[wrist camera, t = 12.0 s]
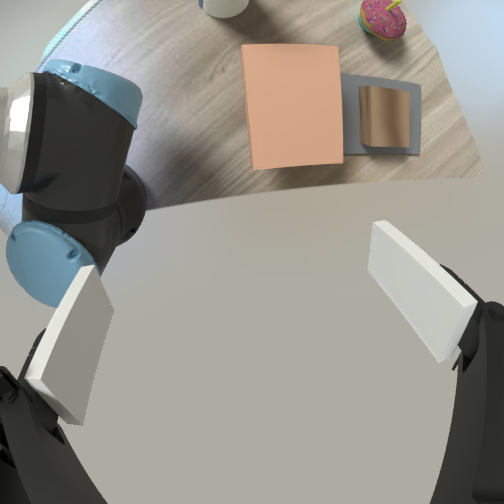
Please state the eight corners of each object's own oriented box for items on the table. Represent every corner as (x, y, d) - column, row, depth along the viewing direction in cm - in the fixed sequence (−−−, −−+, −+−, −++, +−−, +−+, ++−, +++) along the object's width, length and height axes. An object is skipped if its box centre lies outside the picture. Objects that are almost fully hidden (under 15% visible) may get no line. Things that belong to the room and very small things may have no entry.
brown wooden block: (359, 142, 44) (371, 146, 41) (358, 86, 40) (370, 85, 36) (396, 143, 45) (409, 147, 42) (396, 90, 40) (409, 91, 37)
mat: (337, 153, 46) (339, 154, 45) (334, 73, 39) (336, 73, 38) (417, 153, 47) (419, 154, 47) (418, 84, 40) (420, 84, 40)
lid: (251, 166, 37) (253, 170, 35) (239, 48, 29) (242, 44, 27) (335, 159, 38) (343, 163, 36) (330, 49, 30) (337, 46, 28)
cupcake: (339, 15, 33) (375, -4, 23) (367, -5, 31) (405, -23, 21) (372, 51, 37) (414, 44, 27) (398, 30, 35) (440, 21, 24)
